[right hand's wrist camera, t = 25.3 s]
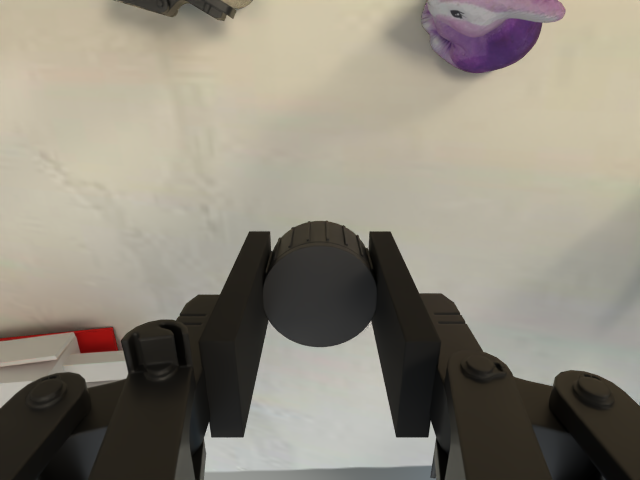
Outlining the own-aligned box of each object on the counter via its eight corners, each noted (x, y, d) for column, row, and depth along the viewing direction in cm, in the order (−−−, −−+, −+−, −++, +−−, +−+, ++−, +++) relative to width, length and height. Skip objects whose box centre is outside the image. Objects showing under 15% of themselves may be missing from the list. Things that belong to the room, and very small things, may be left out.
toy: (130, 448, 47) (-163, 478, 43) (157, 372, 59) (-68, 389, 55) (112, 364, 42) (-217, 389, 38) (145, 301, 55) (-101, 314, 51)
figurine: (397, 2, 38) (441, -43, 24) (501, -53, 36) (613, -135, 22) (430, 96, 41) (485, 105, 27) (527, 50, 40) (639, 34, 26)
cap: (256, 229, 14) (245, 256, 12) (362, 209, 14) (370, 232, 12) (282, 319, 16) (275, 357, 13) (378, 302, 15) (387, 338, 13)
